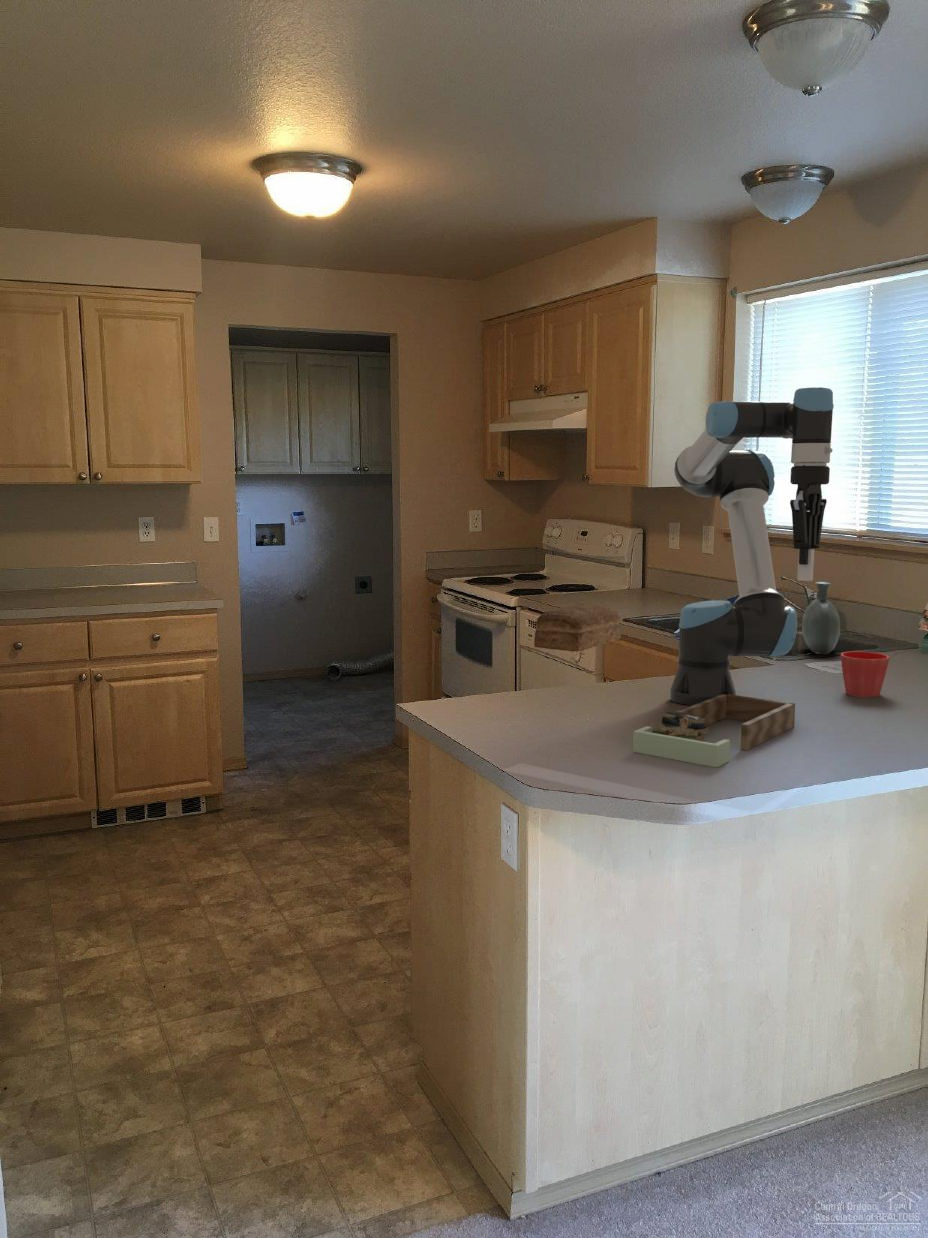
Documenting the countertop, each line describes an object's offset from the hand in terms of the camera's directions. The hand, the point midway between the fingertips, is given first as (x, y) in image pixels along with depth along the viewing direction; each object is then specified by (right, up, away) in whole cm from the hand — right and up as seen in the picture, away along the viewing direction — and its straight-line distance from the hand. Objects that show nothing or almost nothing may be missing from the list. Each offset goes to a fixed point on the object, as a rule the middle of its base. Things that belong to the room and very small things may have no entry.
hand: (805, 580), depth 208 cm
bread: (-35, -17, +108) cm, 115 cm away
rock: (-31, -34, -15) cm, 48 cm away
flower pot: (+26, -27, +36) cm, 52 cm away
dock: (-30, -34, -20) cm, 49 cm away
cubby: (-15, -31, -1) cm, 35 cm away
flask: (+35, -19, +91) cm, 100 cm away
